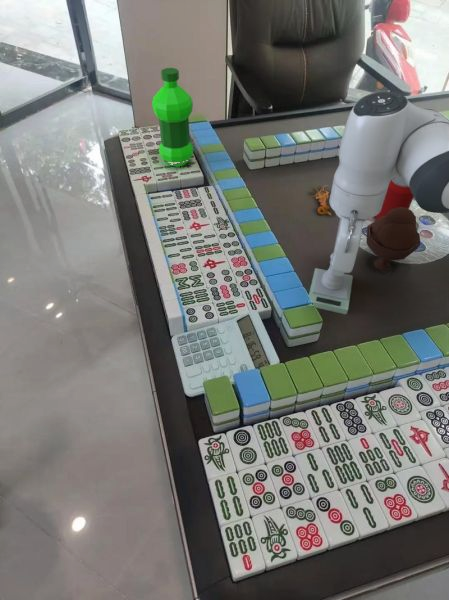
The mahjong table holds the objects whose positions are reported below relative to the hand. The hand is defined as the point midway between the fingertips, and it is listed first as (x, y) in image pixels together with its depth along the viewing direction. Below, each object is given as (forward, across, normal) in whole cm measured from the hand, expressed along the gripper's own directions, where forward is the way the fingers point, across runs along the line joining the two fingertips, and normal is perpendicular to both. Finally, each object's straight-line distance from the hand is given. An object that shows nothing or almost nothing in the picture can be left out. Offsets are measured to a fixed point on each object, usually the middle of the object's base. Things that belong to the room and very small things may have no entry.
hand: (341, 256), depth 83 cm
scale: (+10, -1, +1) cm, 10 cm away
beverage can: (+11, +29, -10) cm, 33 cm away
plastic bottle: (+10, +39, +50) cm, 64 cm away
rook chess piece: (+8, 0, +1) cm, 8 cm away
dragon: (+11, +31, +6) cm, 34 cm away
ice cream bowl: (+11, +11, -9) cm, 18 cm away
